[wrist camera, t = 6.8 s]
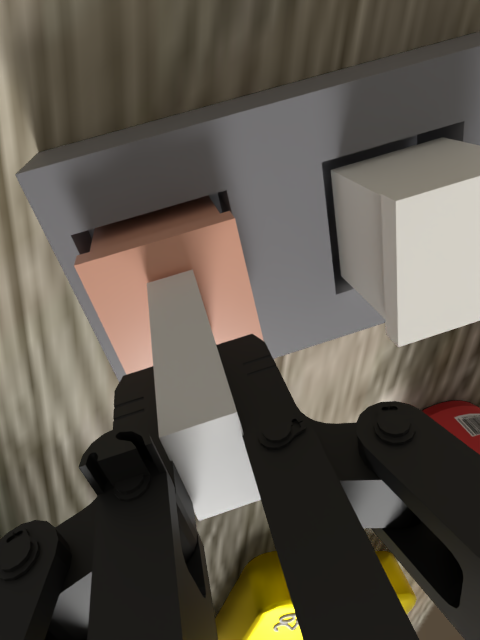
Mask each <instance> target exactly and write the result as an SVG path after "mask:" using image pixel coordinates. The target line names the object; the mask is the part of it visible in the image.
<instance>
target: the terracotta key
mask: <svg viewBox="0 0 480 640" xmlns="http://www.w3.org/2000/svg"><path fill="white" fill-rule="evenodd" d="M74 267H75V269H76V271H77V273H78V275H79V277H80V279H81V281H82V283H83V286H84V288H85V290H86V292H87V294H88V296H89V298H90V300H91V302H92V304H93V306H94V308H95V310H96V312H97V315H98V317H99V319H100V321H101V323H102V325H103V327H104V329H105V331H106V333H107V335H108V337H109V339H110V341H111V344H112V346H113V348H114V350H115V352H116V354H117V356H118V358H119V360H120V362H121V364H122V366H123V368H124V370H125V373H126V375H127V374H130V373H133V372H136V371H140V370H143V369H146V368H149V367H152V366H153V356H152V344H151V331H150V318H149V306H148V293H147V283H149V282H153V281H156V280H159V279H162V278H166V277H169V276H172V275H176V274H179V273H182V272H186V271H189V270H192V269H193V272H194V275H195V278H196V282H197V285H198V288H199V291H200V294H201V298H202V301H203V304H204V307H205V310H206V314H207V317H208V320H209V323H210V326H211V330H212V333H213V336H214V339H215V342H216V345H218V344H221V343H224V342H227V341H230V340H233V339H237V338H240V337H243V336H246V335H249V334H254V335H255V336H257V337H258V338H260V339H261V340H263V336H262V331H261V327H260V323H259V319H258V314H257V310H256V306H255V302H254V297H253V293H252V289H251V285H250V280H249V276H248V272H247V267H246V263H245V259H244V255H243V250H242V246H241V242H240V238H239V233H238V229H237V225H236V221H235V218H234V216H233V215H232V213H231V212H230V211H227V212H224V213H219V211H218V210H217V208H216V207H215V205H214V203H213V202H212V200H211V198H210V197H209V195H208V196H204V197H201V198H197V199H194V200H190V201H187V202H184V203H180V204H177V205H173V206H170V207H166V208H163V209H159V210H156V211H153V212H149V213H146V214H142V215H139V216H135V217H132V218H128V219H125V220H121V221H118V222H115V223H111V224H108V225H104V226H101V227H97V228H95V229H94V234H93V238H92V243H91V248H90V252H88V253H84V254H81V255H77V257H76V260H75V264H74ZM263 341H264V340H263Z"/></svg>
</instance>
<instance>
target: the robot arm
mask: <svg viewBox="0 0 480 640" xmlns="http://www.w3.org/2000/svg"><path fill="white" fill-rule="evenodd" d="M147 293H148V306H149V318H150V331H151V344H152V356H153V366H152V367H149V368H146V369H143V370H140V371H136V372H133V373H130V374H127V375H124V376H123V377H122V379H121V380H120V382H119V384H118V386H117V388H116V390H115V396H114V407H115V409H114V421H113V430H112V431H109V432H107V433H105V434H103V435H102V436H101V437H99V438H98V439H97V440H96V441H94V442H93V443H92V444H91V445H90V446H89V448H88V449H87V450H86V452H85V453H84V454H83V456H82V459H81V462H80V465H79V469H80V470H81V472H82V473H83V475H84V476H85V478H86V479H87V481H88V482H89V484H90V485H91V487H92V488H93V489H94V491H95V492H96V494H97V498H96V499H95V500H94V501H93V502H92V503H91V504H90V505H88V506H87V507H86V508H84V509H83V510H82V511H80V512H79V513H77V514H76V515H74V516H73V517H71V518H69V519H68V520H66V521H65V522H63V523H62V524H60V525H58V526H57V527H54V526H52V525H51V524H50V523H49V522H47V521H39V520H34V521H31V522H28V523H24V524H21V525H20V526H18V527H16V528H15V529H13V530H12V531H10V532H8V533H7V534H6V535H5V536H4V537H3V538H2V539H1V540H0V640H218V635H217V628H216V622H215V616H214V609H213V603H212V597H211V590H210V584H209V577H208V571H207V565H206V558H205V552H204V546H203V543H202V541H201V538H200V536H199V534H198V532H197V529H196V522H195V515H194V512H195V514H196V516H197V518H198V520H199V521H200V520H203V519H206V518H209V517H212V516H215V515H218V514H220V513H223V512H226V511H229V510H232V509H235V508H238V507H241V506H244V505H247V504H250V503H252V502H255V501H258V500H261V501H262V504H263V508H264V511H265V514H266V518H267V521H268V524H269V528H270V531H271V534H272V538H273V541H274V544H275V548H276V551H277V554H278V558H279V561H280V564H281V568H282V571H283V574H284V578H285V581H286V584H287V588H288V591H289V594H290V598H291V601H292V604H293V608H294V611H295V614H296V618H297V621H298V624H299V628H300V631H301V634H302V638H303V640H419V638H418V636H417V634H416V632H415V630H414V628H413V626H412V624H411V622H410V620H409V618H408V616H407V614H406V612H405V610H404V608H403V606H402V604H401V602H400V600H399V598H398V596H397V594H396V592H395V590H394V588H393V586H392V584H391V582H390V580H389V578H388V576H387V574H386V572H385V570H384V568H383V566H382V564H381V562H380V561H379V559H378V557H377V555H376V553H375V551H374V549H373V547H372V545H371V543H370V541H369V539H368V537H367V535H366V533H365V531H364V529H363V528H371V529H372V530H373V531H374V532H375V534H376V535H377V536H378V537H379V538H380V540H381V541H382V542H383V543H384V544H385V545H386V547H387V548H388V549H389V550H390V551H391V553H392V554H393V555H394V556H395V557H396V559H397V560H398V561H399V562H400V563H401V564H402V566H403V567H404V568H405V569H406V570H407V572H408V573H409V574H410V575H411V576H412V577H413V579H414V580H415V581H416V582H417V583H418V585H419V586H420V587H421V588H422V589H423V591H424V592H425V593H426V594H427V595H428V596H429V598H430V599H431V600H432V601H433V602H434V604H435V605H436V606H437V607H438V608H439V609H440V611H441V612H442V613H443V614H444V615H445V617H446V618H447V619H448V620H449V621H450V623H451V624H452V625H453V626H454V627H455V628H456V630H457V631H458V632H459V633H460V634H461V636H462V637H463V638H464V639H465V640H480V455H479V454H478V453H477V452H475V451H474V450H473V449H472V448H470V447H469V446H468V445H466V444H465V443H464V442H462V441H461V440H460V439H458V438H457V437H456V436H454V435H453V434H452V433H450V432H449V431H448V430H446V429H445V428H444V427H442V426H441V425H440V424H438V423H437V422H436V421H435V420H433V419H432V418H431V417H429V416H428V415H427V414H425V413H424V412H423V411H421V410H419V409H417V408H415V407H413V406H412V405H410V404H405V403H401V402H396V401H393V402H380V403H378V404H375V405H372V406H370V407H368V408H367V409H366V410H365V411H363V412H362V413H361V414H360V416H359V418H358V421H357V423H341V424H330V423H322V422H318V421H315V420H312V419H310V418H308V417H307V416H305V415H304V414H303V413H302V412H300V410H299V409H298V407H297V406H296V404H295V402H294V400H293V398H292V396H291V394H290V392H289V390H288V388H287V386H286V384H285V382H284V380H283V378H282V376H281V374H280V372H279V370H278V368H277V366H276V363H275V361H274V359H273V357H272V356H271V353H270V351H269V349H268V347H267V345H266V343H265V342H264V341H263V340H261V339H260V338H258V337H257V336H255V335H254V334H249V335H246V336H243V337H240V338H237V339H233V340H230V341H227V342H224V343H221V344H218V345H216V342H215V339H214V336H213V333H212V330H211V326H210V323H209V320H208V317H207V314H206V310H205V307H204V304H203V301H202V298H201V294H200V291H199V288H198V285H197V282H196V278H195V275H194V272H193V269H192V270H189V271H186V272H182V273H179V274H176V275H172V276H169V277H166V278H162V279H159V280H156V281H153V282H149V283H147Z"/></svg>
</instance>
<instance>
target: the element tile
mask: <svg viewBox="0 0 480 640" xmlns="http://www.w3.org/2000/svg"><path fill="white" fill-rule="evenodd" d="M375 553H376V555H377V557H378V559H379V561H380V562H381V564H382V566H383V568H384V570H385V572H386V574H387V576H388V578H389V580H390V582H391V584H392V586H393V588H394V590H395V592H396V594H397V596H398V598H399V600H400V602H401V604H402V606H403V608H404V610H405V612H406V614H408V612H409V611H410V610H411V609H412V608H413V606H414V605H415V602H416V596H415V594H414V592H413V590H412V588H411V587H410V585H409V583H408V581H407V579H406V577H405V576H404V574H403V572H402V570H401V568H400V566H399V565H398V563H397V561H396V559H395V557H394V555H393V554H392V553H390V552H387V551H375ZM215 622H216V628H217V635H218V640H303V638H302V634H301V631H300V628H299V624H298V621H297V618H296V614H295V611H294V608H293V604H292V601H291V598H290V594H289V591H288V588H287V584H286V581H285V578H284V574H283V571H282V568H281V564H280V561H279V558H278V554H277V551H272V552H268V553H264V554H261V555H259V556H257V557H255V558H254V559H252V560H251V561H250V562H249V563H248V564H247V565H246V566H245V568H244V569H243V571H242V573H241V575H240V576H239V578H238V580H237V582H236V583H235V585H234V587H233V589H232V590H231V592H230V594H229V596H228V597H227V599H226V601H225V603H224V604H223V606H222V608H221V610H220V611H219V613H218V615H217V617H216V618H215Z"/></svg>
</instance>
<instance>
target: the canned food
mask: <svg viewBox="0 0 480 640" xmlns="http://www.w3.org/2000/svg"><path fill="white" fill-rule="evenodd" d="M422 411H423V412H424V413H425V414H427V415H428V416H429V417H431V418H432V419H433V420H435V421H436V422H437V423H438V424H440V425H441V426H442V427H444V428H445V429H446V430H448V431H449V432H450V433H452V434H453V435H454V436H456V437H457V438H458V439H460V440H461V441H462V442H464V443H465V444H466V445H468V446H469V447H470V448H472V449H473V450H474V451H475V452H477V453H478V454H479V455H480V408H479V407H477V406H475V405H473V404H471V403H470V402H466V401H448V402H442V403H439V404H436V405H433V406H431V407H428V408H426V409H424V410H422Z"/></svg>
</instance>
